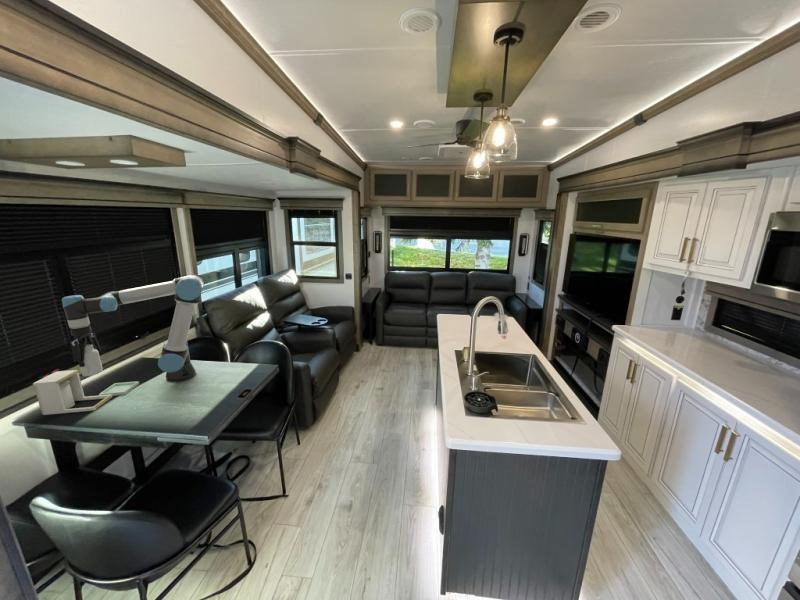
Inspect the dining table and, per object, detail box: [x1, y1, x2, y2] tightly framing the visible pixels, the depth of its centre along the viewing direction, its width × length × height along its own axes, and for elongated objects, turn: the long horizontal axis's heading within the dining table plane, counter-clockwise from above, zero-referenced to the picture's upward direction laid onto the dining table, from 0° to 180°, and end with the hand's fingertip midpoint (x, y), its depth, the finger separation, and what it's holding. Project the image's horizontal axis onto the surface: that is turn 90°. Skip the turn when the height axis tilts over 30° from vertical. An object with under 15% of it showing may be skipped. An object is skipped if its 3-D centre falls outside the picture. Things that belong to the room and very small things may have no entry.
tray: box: [98, 380, 140, 397], centre depth 178 cm, size 12×12×2 cm
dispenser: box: [32, 369, 113, 416], centre depth 161 cm, size 22×13×17 cm, turn 100°
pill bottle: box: [79, 344, 104, 377], centre depth 162 cm, size 8×8×15 cm
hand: (91, 368), depth 163 cm, fingers closed on pill bottle, 8 cm apart
